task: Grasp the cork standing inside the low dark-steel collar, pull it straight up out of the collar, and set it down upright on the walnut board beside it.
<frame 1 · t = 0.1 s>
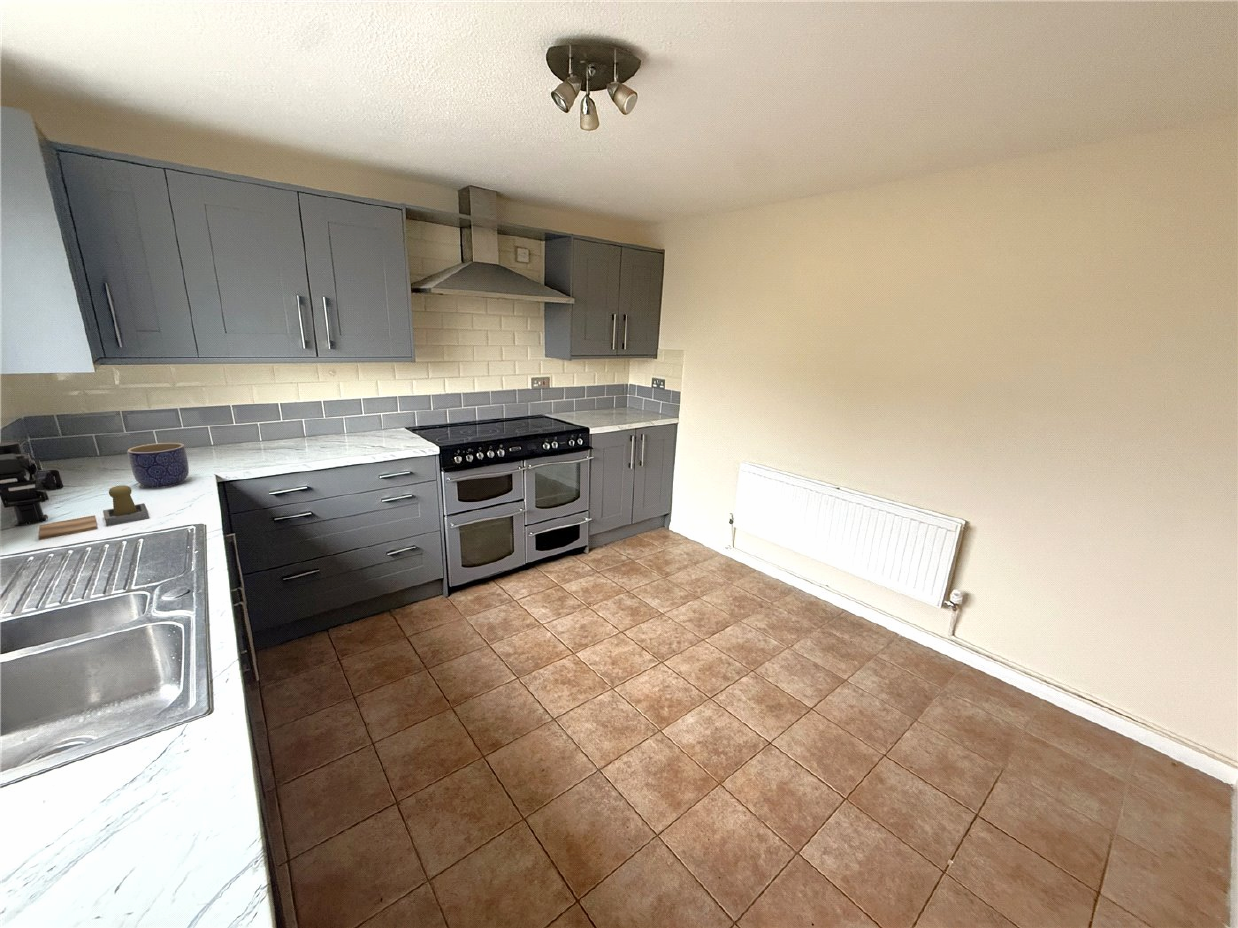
hand: (11, 492, 136), 17 cm above the countertop, tool horizontal, fingers open, 9 cm apart
walnut board: (69, 528, 153), on the countertop
steel collar: (127, 517, 162), on the countertop
cork: (127, 518, 162), resting in steel collar
planter: (164, 484, 195), on the countertop
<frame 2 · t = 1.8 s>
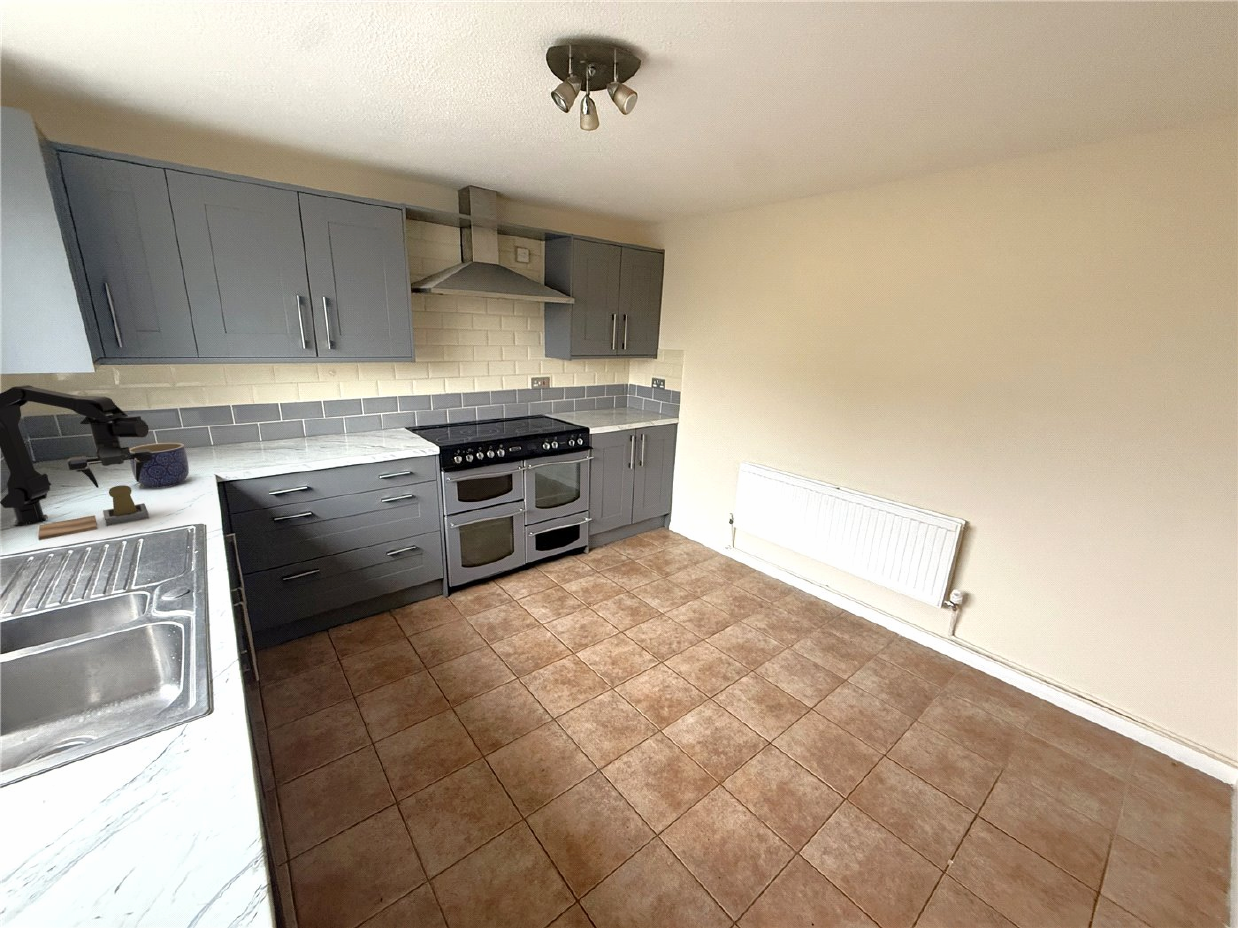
hand: (118, 484, 159), 12 cm above the countertop, tool pointing down, fingers open, 9 cm apart
nothing on the countertop moved.
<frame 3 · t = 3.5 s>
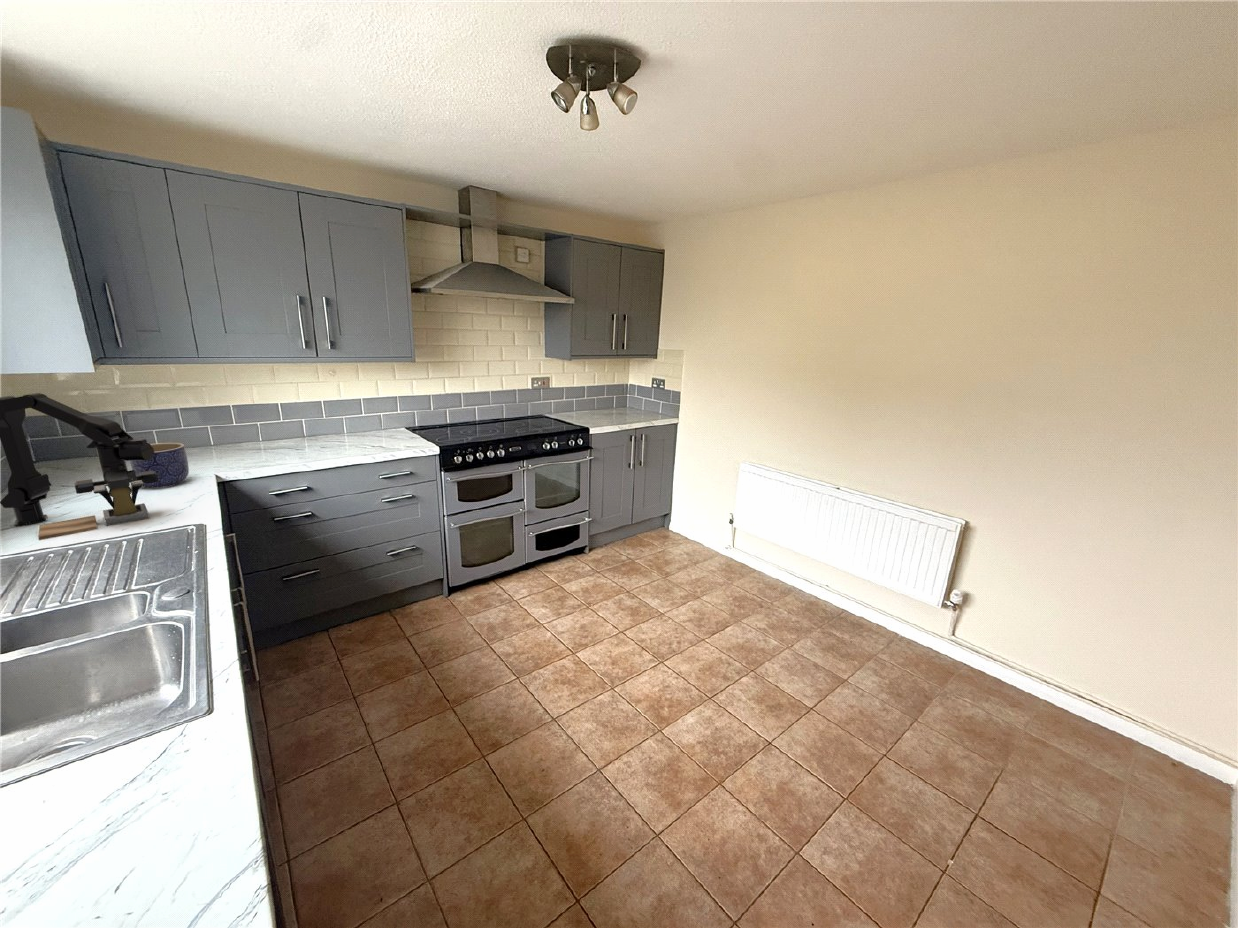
hand: (124, 506, 161), 4 cm above the countertop, tool pointing down, fingers closed on cork, 4 cm apart
cork: (127, 518, 162), resting in steel collar, touching gripper
everything else where it was.
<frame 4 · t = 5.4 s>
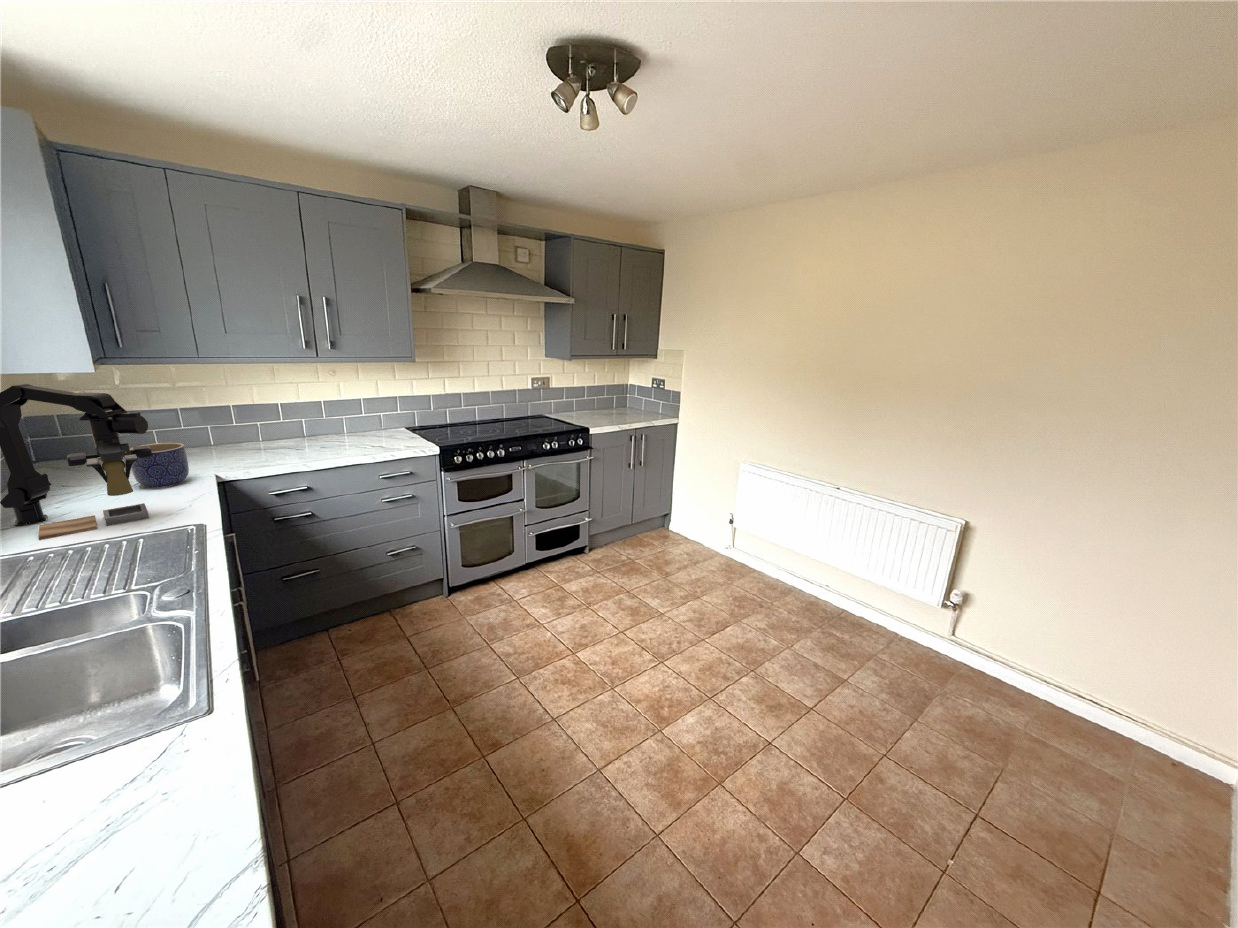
hand: (117, 481, 159), 13 cm above the countertop, tool pointing down, fingers closed on cork, 4 cm apart
cork: (120, 493, 160), point 9 cm above the countertop, touching gripper
everything else where it was.
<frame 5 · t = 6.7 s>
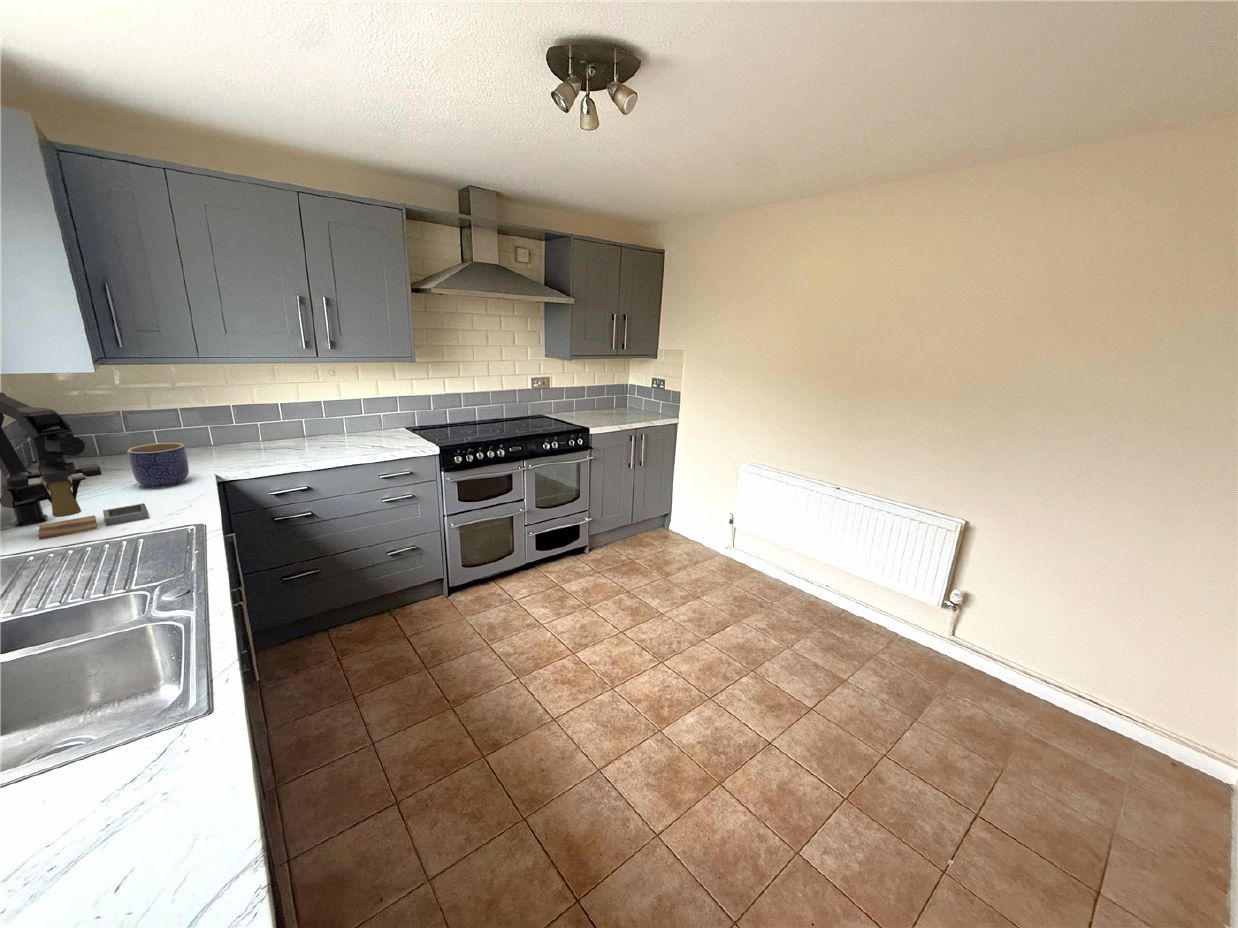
hand: (63, 501, 151), 9 cm above the countertop, tool pointing down, fingers closed on cork, 4 cm apart
cork: (67, 513, 152), point 5 cm above the countertop, touching gripper
everything else where it was.
when the fingers open (6 cm above the countertop, at t = 7.4 s): cork drops 1 cm, resting on walnut board.
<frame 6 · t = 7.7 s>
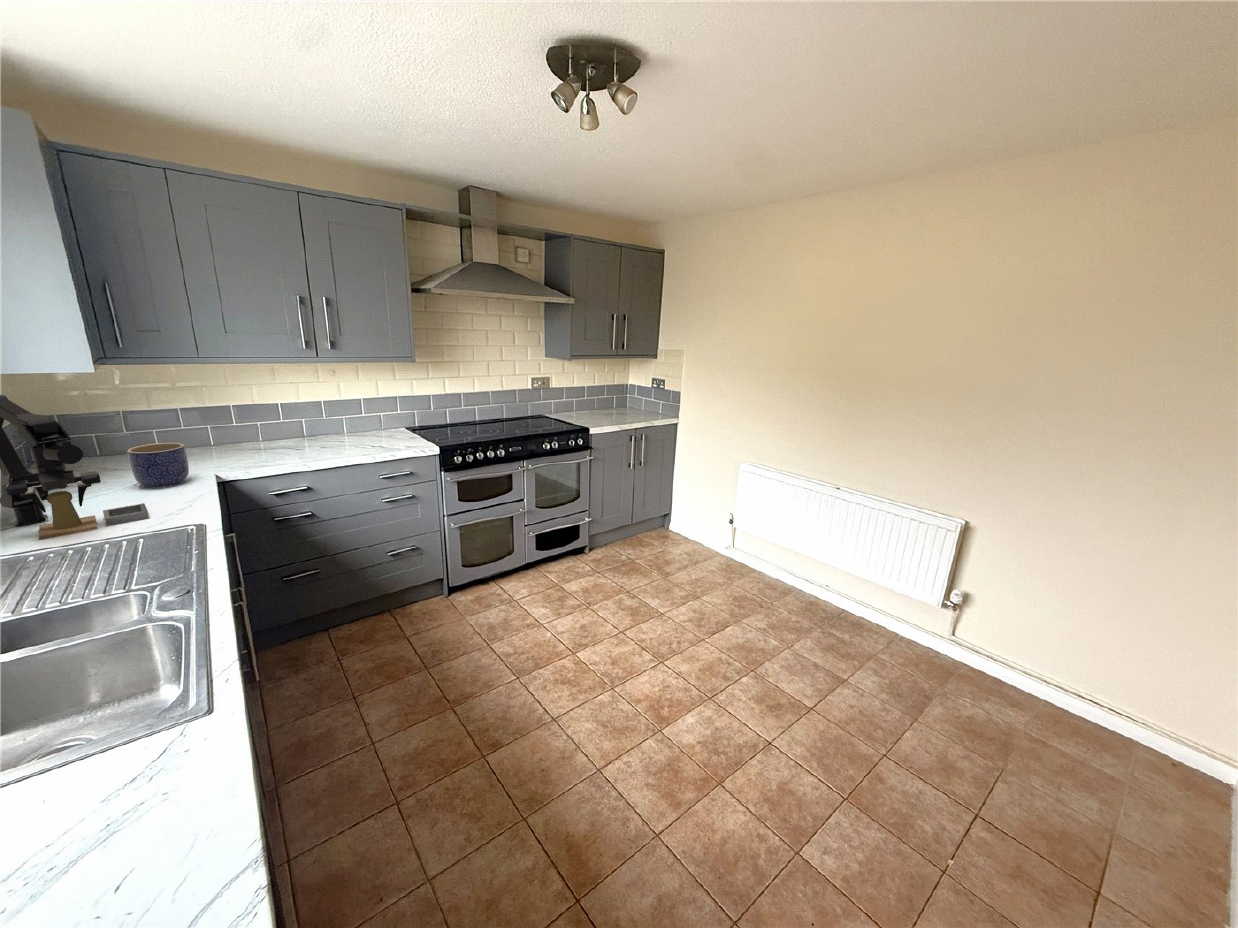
hand: (63, 509, 151), 6 cm above the countertop, tool pointing down, fingers open, 7 cm apart
cork: (68, 526, 153), point 1 cm above the countertop, touching walnut board
everything else where it was.
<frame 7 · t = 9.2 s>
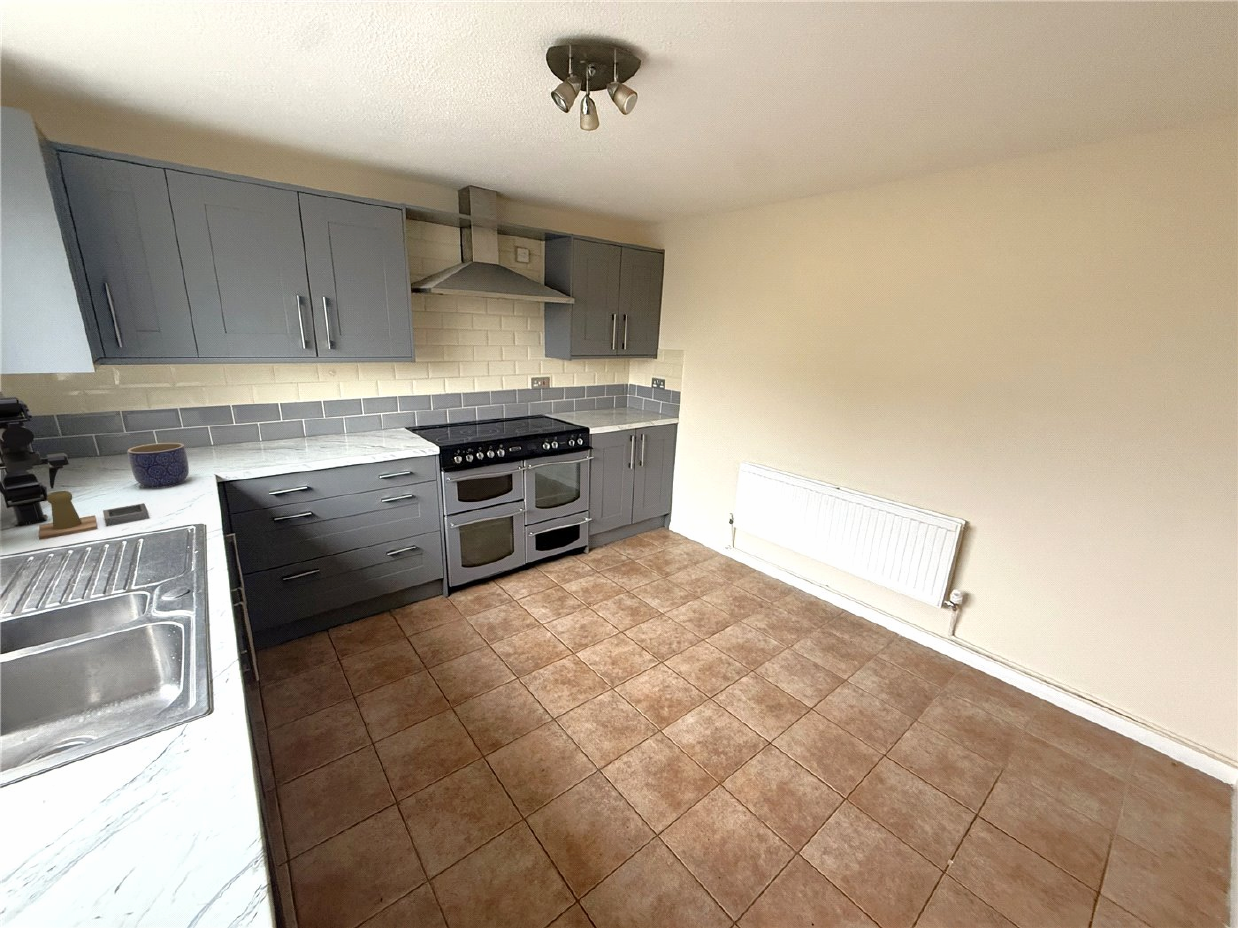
hand: (29, 491, 147), 13 cm above the countertop, tool pointing down, fingers open, 9 cm apart
nothing on the countertop moved.
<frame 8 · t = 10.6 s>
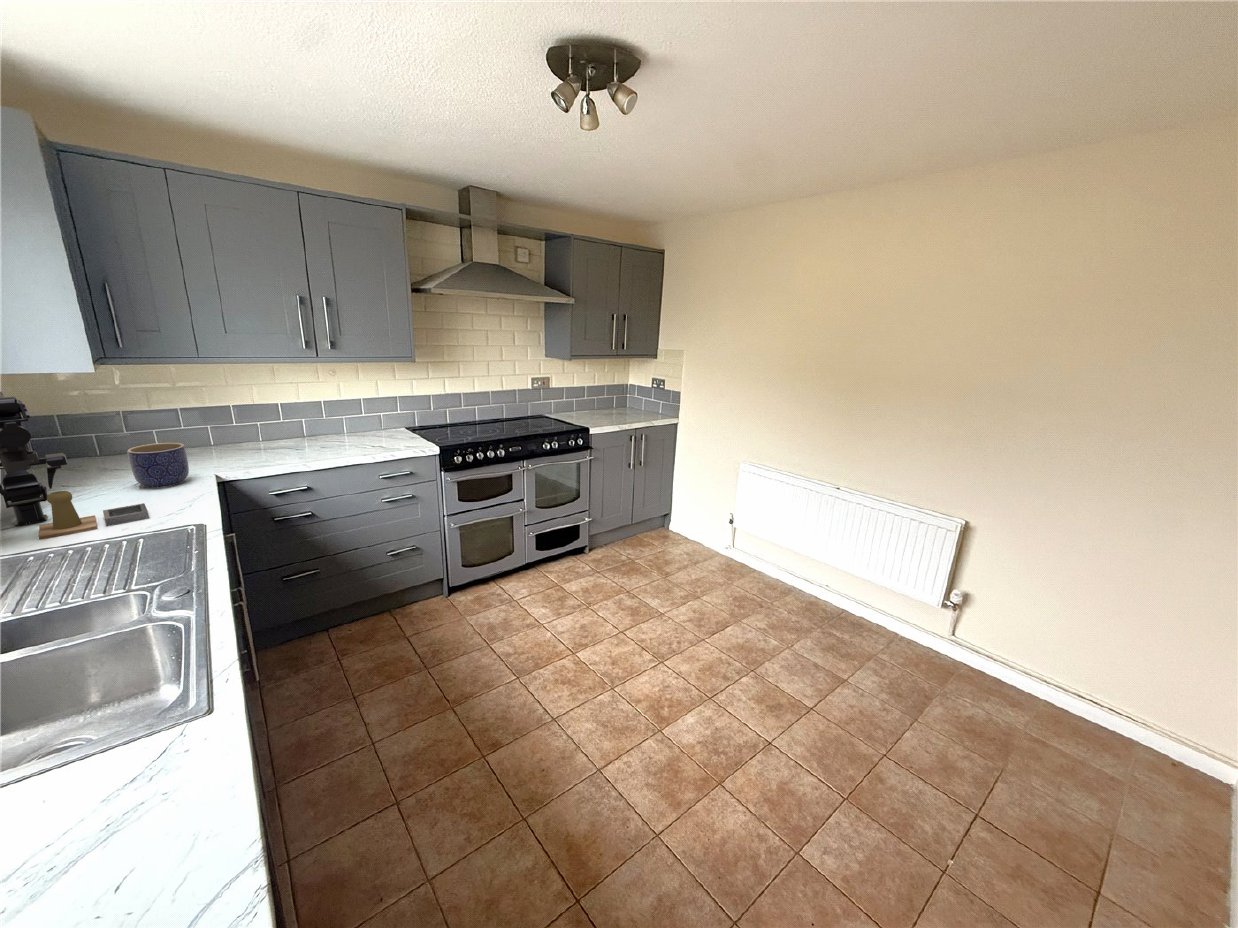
hand: (27, 491, 146), 13 cm above the countertop, tool pointing down, fingers open, 9 cm apart
nothing on the countertop moved.
at the end: cork inside the target area on the walnut board (0.1 cm from its centre), point 0.8 cm above the walnut board's base; cork tilted 0°; the gripper is holding nothing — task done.
